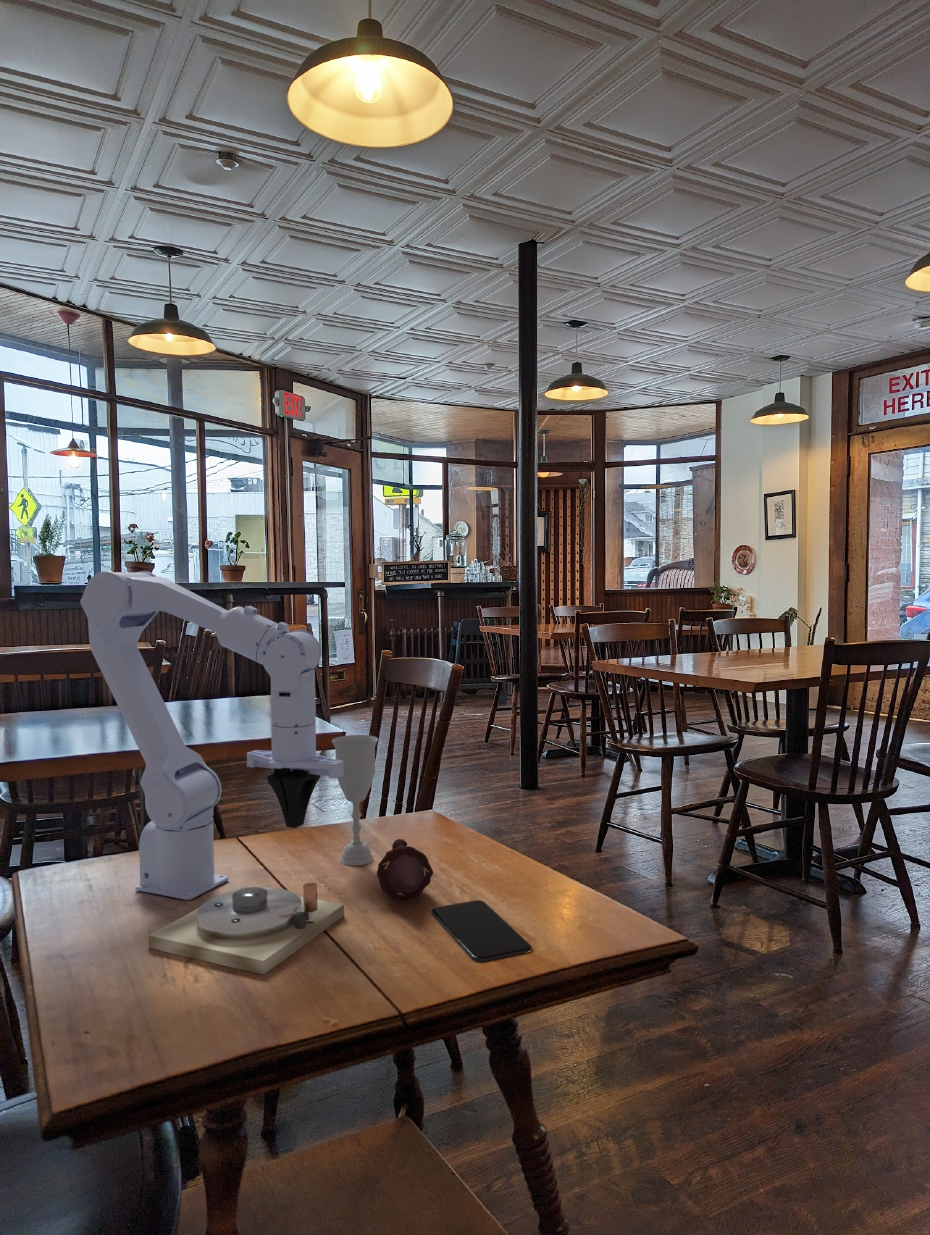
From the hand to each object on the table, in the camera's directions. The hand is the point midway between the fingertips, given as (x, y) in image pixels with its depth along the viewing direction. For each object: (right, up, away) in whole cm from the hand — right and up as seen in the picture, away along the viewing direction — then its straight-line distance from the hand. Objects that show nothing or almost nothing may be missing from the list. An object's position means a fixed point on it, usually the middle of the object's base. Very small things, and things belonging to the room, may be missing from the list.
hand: (295, 825), depth 107 cm
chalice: (+6, -9, +14) cm, 18 cm away
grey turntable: (-2, -8, -11) cm, 13 cm away
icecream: (+14, -10, 0) cm, 17 cm away
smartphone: (+24, -10, -10) cm, 28 cm away
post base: (-3, -10, -10) cm, 15 cm away
